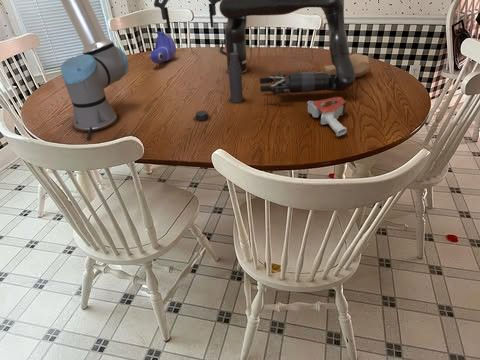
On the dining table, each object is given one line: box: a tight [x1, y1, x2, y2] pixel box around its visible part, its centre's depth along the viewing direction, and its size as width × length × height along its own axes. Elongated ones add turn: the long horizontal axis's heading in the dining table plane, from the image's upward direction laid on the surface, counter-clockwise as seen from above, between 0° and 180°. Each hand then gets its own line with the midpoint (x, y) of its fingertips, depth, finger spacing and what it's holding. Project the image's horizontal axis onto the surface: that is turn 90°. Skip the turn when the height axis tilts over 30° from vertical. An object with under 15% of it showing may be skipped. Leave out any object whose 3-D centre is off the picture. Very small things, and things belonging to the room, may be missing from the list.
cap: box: [195, 110, 209, 122], centre depth 131 cm, size 4×4×2 cm
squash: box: [322, 52, 370, 78], centre depth 156 cm, size 11×20×9 cm, turn 92°
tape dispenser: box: [307, 96, 348, 137], centre depth 123 cm, size 18×5×20 cm
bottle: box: [228, 52, 244, 104], centre depth 138 cm, size 5×5×18 cm
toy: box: [149, 30, 177, 68], centre depth 183 cm, size 10×17×25 cm
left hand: (190, 28), depth 113 cm, fingers open, 13 cm apart
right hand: (260, 84), depth 139 cm, fingers open, 8 cm apart
